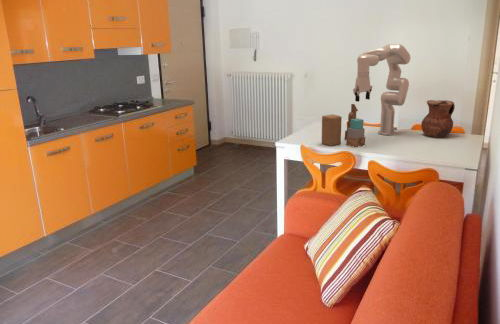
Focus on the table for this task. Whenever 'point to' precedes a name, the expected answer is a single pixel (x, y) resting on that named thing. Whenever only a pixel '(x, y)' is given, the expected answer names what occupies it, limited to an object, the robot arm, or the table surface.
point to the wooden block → (331, 129)
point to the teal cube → (356, 124)
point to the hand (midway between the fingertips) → (362, 100)
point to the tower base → (355, 141)
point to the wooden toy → (351, 117)
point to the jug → (438, 118)
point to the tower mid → (355, 133)
